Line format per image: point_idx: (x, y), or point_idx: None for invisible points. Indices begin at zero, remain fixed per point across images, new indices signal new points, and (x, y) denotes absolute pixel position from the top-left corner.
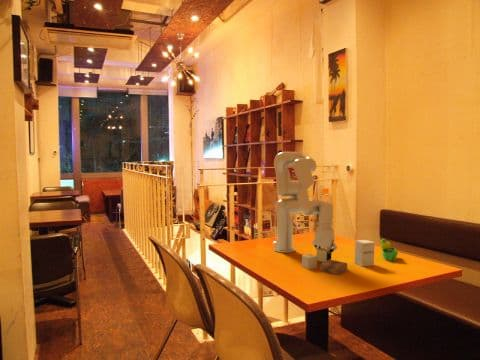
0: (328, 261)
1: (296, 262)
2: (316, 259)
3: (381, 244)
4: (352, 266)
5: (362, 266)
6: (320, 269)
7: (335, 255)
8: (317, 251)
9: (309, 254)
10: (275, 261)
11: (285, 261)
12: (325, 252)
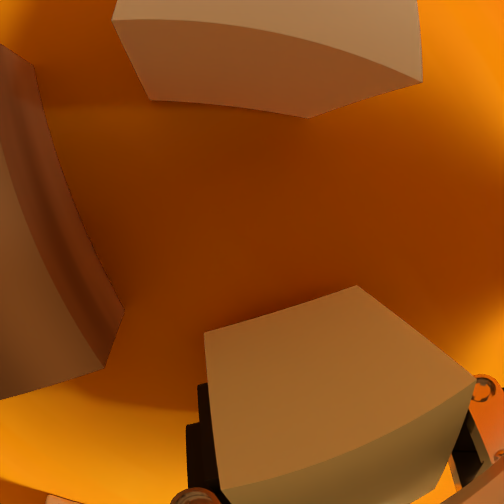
0: (1, 270)
1: (446, 81)
2: (127, 38)
3: None
4: (64, 469)
5: (48, 496)
6: (21, 61)
7: None
8: (436, 360)
9: (405, 32)
10: (492, 5)
11: (485, 45)
12: (231, 464)
